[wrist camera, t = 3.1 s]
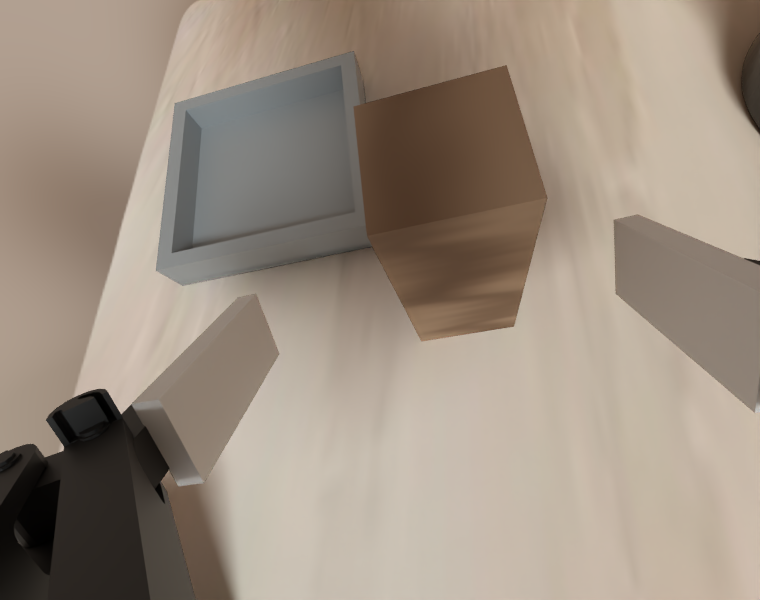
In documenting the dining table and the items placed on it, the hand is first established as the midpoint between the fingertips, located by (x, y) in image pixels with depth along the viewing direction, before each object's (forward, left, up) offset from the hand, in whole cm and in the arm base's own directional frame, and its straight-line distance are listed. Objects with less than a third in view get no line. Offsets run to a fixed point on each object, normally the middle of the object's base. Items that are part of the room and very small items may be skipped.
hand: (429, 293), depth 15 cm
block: (-1, -3, -8) cm, 9 cm away
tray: (+10, -14, -8) cm, 19 cm away
